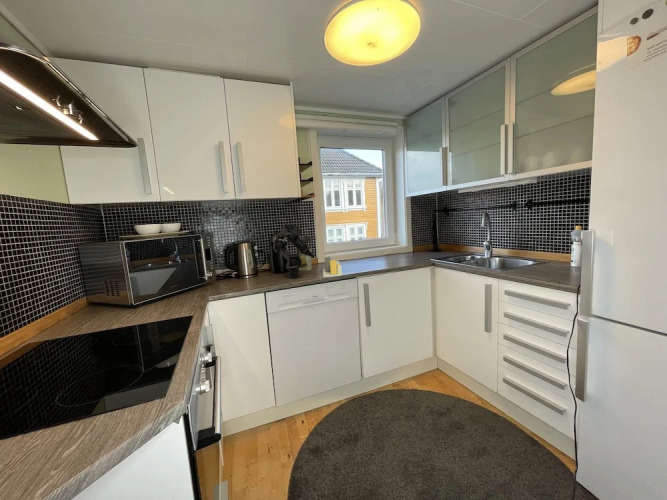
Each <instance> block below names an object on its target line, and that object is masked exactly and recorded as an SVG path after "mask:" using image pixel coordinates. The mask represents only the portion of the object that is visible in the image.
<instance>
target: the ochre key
mask: <svg viewBox="0 0 667 500" xmlns="http://www.w3.org/2000/svg"><path fill="white" fill-rule="evenodd" d="M336 261H337V260H336V259H332V260H330V272H331V274H337V265H336Z"/></svg>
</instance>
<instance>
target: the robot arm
mask: <svg viewBox="0 0 667 500" xmlns="http://www.w3.org/2000/svg"><path fill="white" fill-rule="evenodd" d="M302 234H303V230H302V229H301V228H300V227H299V226H298V225H295V223H287V224H283V226H282V230H281V231H280V232H279V233H277V234H276V236H275V239H274V241H273V242H272V243H273V244H272V248H273V251H274V252H275V253H279V254H281V255H282V256H283V258H285V260H286V261H287V262H286V265H285V269H287V270H288V272H289V274H288V277H287V279H298V278H301V277H302V275H300V270H299V268H301V262H302V261H301V259H300V257H299V256H298V255H297V253H292V252H290V251H289V250H288V249H287V241H288V242H289V243H290V244H291V245H292V246H293V247H295V248H296V250H297V249H298V250H299V252H300V253H301V254H304V255H307V256H310V257H311V258H315V255H314V254H313V253H312V251H310V250H309V248H310V246H309V244H308V242H311V241H312V240H313V239H312V238H311V236H310V235H304V237H303V238H299V237H301V235H302ZM279 241H283V242H279Z"/></svg>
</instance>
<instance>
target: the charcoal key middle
mask: <svg viewBox="0 0 667 500" xmlns="http://www.w3.org/2000/svg"><path fill="white" fill-rule="evenodd" d="M331 259H332V258H331V257H330V259H325V258H324V267H325V269H326V272H328V271H330V260H331Z"/></svg>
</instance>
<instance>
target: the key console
mask: <svg viewBox="0 0 667 500" xmlns="http://www.w3.org/2000/svg"><path fill="white" fill-rule="evenodd" d="M336 265H337V274H331V272H330V271H328V272H326V269H325V268H324V267H323V268H322V277H323V278H325V277H327V278H328V277H339V276H343V273H342V272H343V271H342V270H343V269H342V265H341V263H340V261H339V260H336Z"/></svg>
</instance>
